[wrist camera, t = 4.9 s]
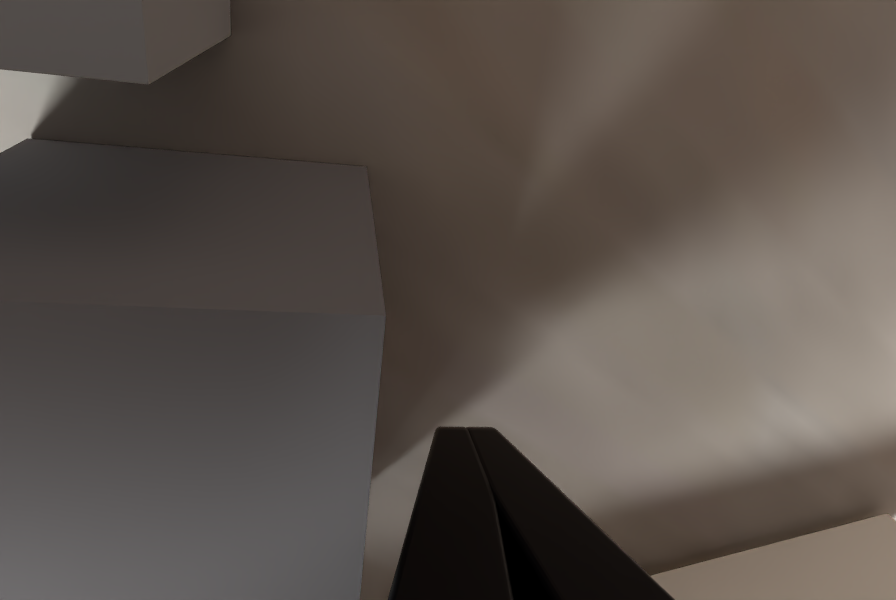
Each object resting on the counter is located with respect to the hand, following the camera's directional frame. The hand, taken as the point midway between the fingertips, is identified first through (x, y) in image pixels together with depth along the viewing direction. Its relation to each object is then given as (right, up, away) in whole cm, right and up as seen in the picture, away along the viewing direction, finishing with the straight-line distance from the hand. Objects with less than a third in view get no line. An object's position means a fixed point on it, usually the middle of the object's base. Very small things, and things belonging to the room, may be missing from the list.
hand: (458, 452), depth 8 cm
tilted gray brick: (-4, +1, +1) cm, 4 cm away
